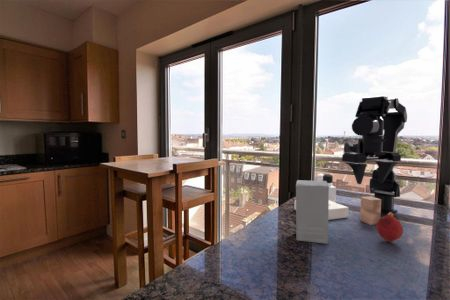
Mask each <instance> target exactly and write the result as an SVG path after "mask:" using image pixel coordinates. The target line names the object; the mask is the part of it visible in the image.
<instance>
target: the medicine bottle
mask: <svg viewBox="0 0 450 300" xmlns="http://www.w3.org/2000/svg"><path fill="white" fill-rule="evenodd" d="M316 179H317V180H316V181H327V184H328V186H329V200H330V201H332V202H335V203H337V202H336V201H337V200H336V197H337V187H336V186H334V185H333V179H334V177H333V175H332V174H330V173H318V174H317V177H316Z"/></svg>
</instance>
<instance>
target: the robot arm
mask: <svg viewBox="0 0 450 300" xmlns="http://www.w3.org/2000/svg"><path fill="white" fill-rule="evenodd" d="M390 109H391V110H390ZM392 109H394V110H392ZM407 121H408V114H407V108H406V106H405V105H403V104H402V103H400V102H399V98H398V97H389V96H387V95H383V94H382V95H374V96H363V97H362V98H361V100H360V101H359V104H358V107H357V109H356V113H355V119H354V120H353V122H352V123H351V130H352V132H353V133H354V134H355V135H357V136H360V137H361V138H359V139H358V140H357V142H358V143H352V142H346V143H345V142H344V145H343V151H344V153H343V154H342V156H341V161H342V162H344V163H345V164H346V165H348V166H349V167H350V169H351V170H352V172H353V175H354V177H355V180H356V183H357V185H361V184H362V183H363V179H364V177H365V172H366V169H367V165H368V164H367V163H366V161H373V160H375V163H376V165H377V168H376V169H373V171H372V173H371V174H372V175H371V177H370V179H369V193H370V194H374V196H373V197H375V198H378V199H381V213H383V214H388V213H398V210H397V209H395V208H394V207H395V198H400V197H401V187H400V184H399V180H398V177H397V175H396V174H395V171H394V167H395V166H396V165H398V162H401V161H402V160H401V159H402V155H401V154H400V152H396V150H397V143H398V137H399V136H398V135H399V134H400V132H402V130H403V129H404V128H405V123H407Z"/></svg>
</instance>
